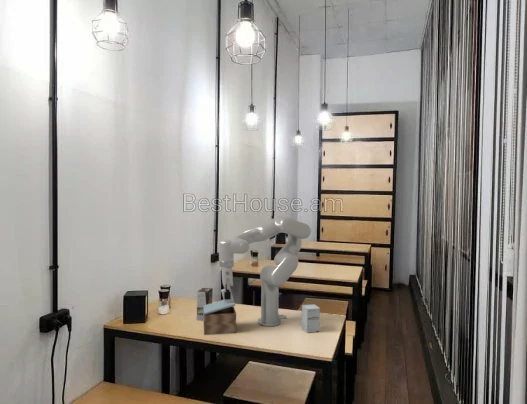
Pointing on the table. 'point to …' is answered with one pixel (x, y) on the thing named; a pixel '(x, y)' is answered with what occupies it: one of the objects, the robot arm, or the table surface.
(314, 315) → the supplement box
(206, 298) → the coffee box
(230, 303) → the lid
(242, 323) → the table surface
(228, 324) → the walnut box
